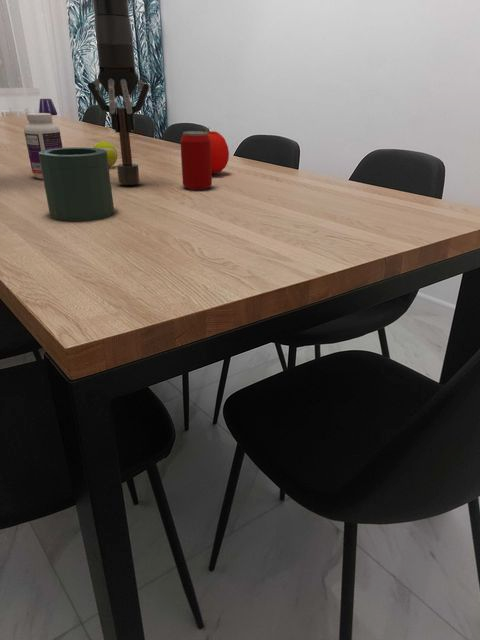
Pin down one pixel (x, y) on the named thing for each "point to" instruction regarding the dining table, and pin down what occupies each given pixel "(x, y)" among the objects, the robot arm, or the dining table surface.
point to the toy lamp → (47, 107)
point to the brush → (126, 153)
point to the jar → (77, 183)
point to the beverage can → (196, 160)
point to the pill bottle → (40, 138)
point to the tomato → (218, 151)
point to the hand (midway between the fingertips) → (123, 132)
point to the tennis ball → (108, 152)
